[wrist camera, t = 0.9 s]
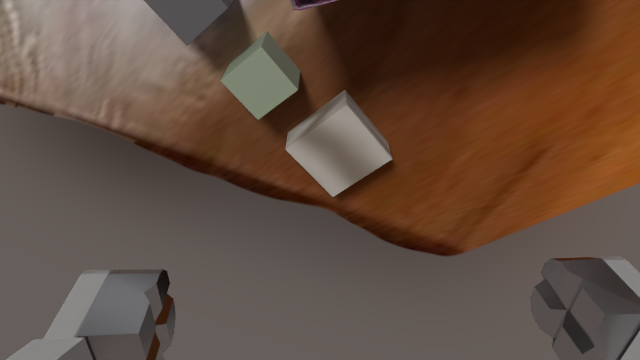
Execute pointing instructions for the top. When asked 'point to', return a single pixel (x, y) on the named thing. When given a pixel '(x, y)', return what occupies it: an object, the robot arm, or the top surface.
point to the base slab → (338, 144)
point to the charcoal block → (188, 15)
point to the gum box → (307, 3)
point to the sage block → (262, 76)
